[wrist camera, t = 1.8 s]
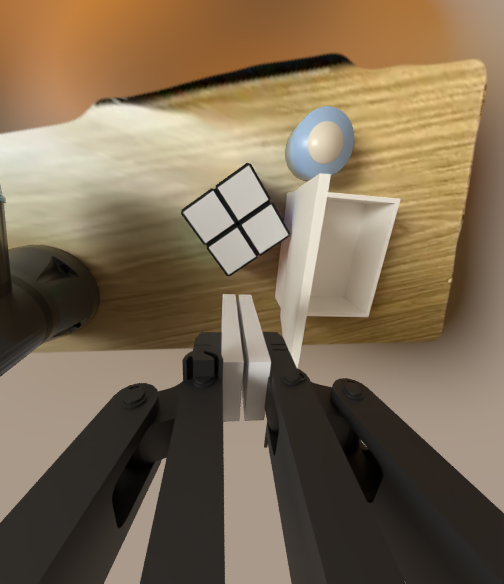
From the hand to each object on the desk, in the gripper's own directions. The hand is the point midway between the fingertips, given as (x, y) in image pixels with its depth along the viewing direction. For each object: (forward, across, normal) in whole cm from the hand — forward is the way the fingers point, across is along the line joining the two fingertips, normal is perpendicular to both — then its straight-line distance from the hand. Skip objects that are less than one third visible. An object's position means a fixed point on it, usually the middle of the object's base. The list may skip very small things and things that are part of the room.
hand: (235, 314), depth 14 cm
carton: (+26, +16, 0) cm, 31 cm away
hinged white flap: (+12, +8, 0) cm, 14 cm away
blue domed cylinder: (+27, +12, +15) cm, 33 cm away
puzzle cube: (+27, +1, +4) cm, 27 cm away
